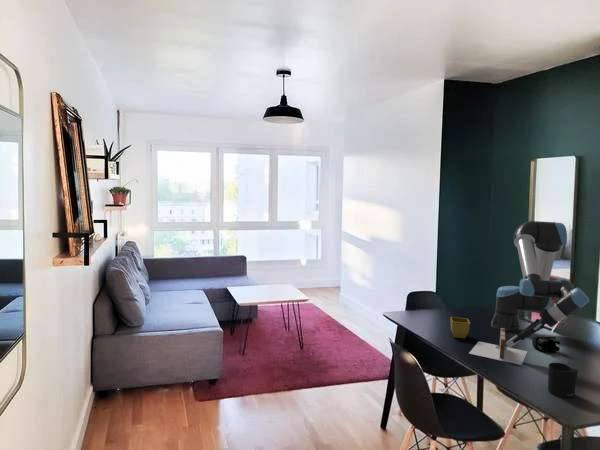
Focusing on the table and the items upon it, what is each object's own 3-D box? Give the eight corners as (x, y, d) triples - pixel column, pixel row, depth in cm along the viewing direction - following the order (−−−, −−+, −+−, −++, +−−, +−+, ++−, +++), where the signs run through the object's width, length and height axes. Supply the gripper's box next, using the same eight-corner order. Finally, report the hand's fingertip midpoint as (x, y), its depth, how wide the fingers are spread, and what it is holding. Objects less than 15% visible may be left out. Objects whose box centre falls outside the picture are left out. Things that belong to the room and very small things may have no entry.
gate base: (478, 342, 232) (478, 340, 232) (527, 352, 221) (527, 350, 221) (468, 354, 214) (468, 352, 214) (521, 365, 202) (521, 364, 202)
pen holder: (548, 395, 172) (550, 369, 172) (545, 386, 181) (547, 360, 180) (577, 400, 169) (580, 374, 168) (572, 390, 178) (575, 365, 177)
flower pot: (469, 340, 234) (470, 323, 233) (450, 338, 236) (452, 321, 235) (466, 335, 243) (467, 318, 242) (449, 333, 244) (450, 316, 244)
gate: (499, 345, 225) (500, 327, 225) (503, 346, 224) (505, 328, 224) (499, 357, 208) (500, 338, 207) (504, 358, 207) (505, 339, 207)
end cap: (550, 348, 228) (551, 335, 227) (560, 353, 221) (561, 339, 220) (531, 348, 227) (532, 334, 226) (540, 353, 220) (541, 339, 219)
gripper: (558, 325, 195) (511, 356, 204) (559, 319, 206) (515, 348, 216) (544, 310, 197) (499, 341, 207) (547, 305, 209) (504, 334, 218)
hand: (507, 345), depth 211 cm, fingers closed
